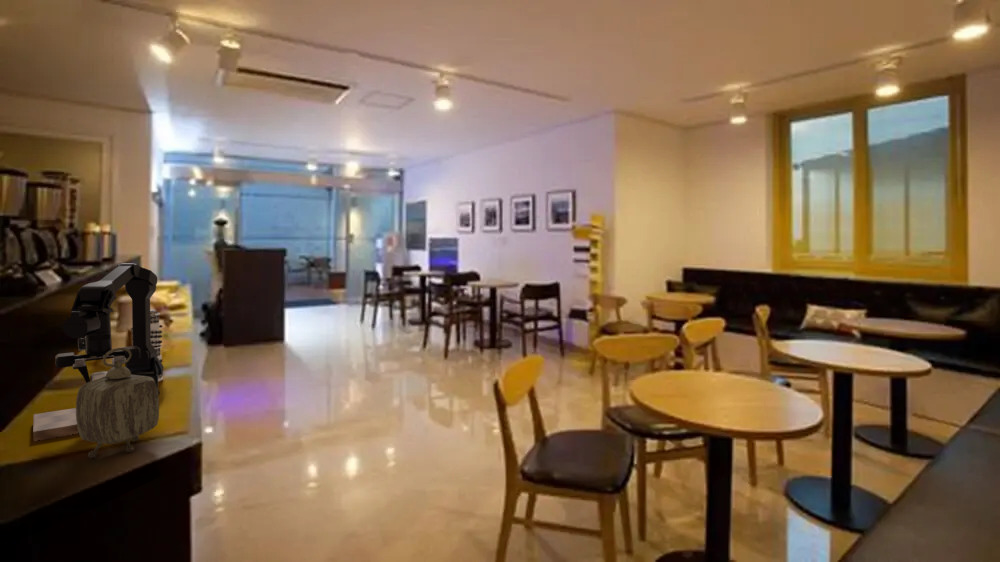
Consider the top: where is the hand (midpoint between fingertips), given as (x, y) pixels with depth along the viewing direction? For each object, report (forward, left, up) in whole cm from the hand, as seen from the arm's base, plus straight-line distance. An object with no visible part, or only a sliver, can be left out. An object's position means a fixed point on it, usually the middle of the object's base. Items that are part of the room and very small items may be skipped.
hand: (101, 387), depth 151 cm
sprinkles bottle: (0, 0, -10) cm, 10 cm away
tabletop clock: (-2, +29, -10) cm, 31 cm away
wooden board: (+5, 0, -9) cm, 10 cm away
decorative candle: (-16, -40, -10) cm, 44 cm away
